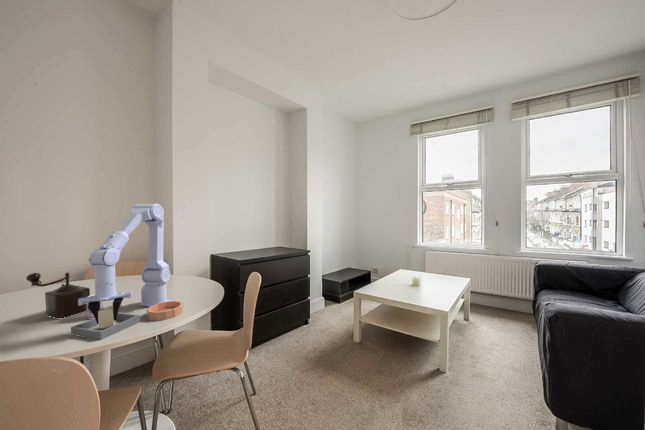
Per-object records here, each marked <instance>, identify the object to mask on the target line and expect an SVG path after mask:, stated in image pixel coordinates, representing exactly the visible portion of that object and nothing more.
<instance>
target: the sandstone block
mask: <svg viewBox="0 0 645 430" xmlns="http://www.w3.org/2000/svg"><path fill="white" fill-rule="evenodd" d="M98 321H99V325H98V329H99V330H101V329H106V328H109V327H111V326H114V325H116V322H117V320H115V321H114V310H113V305H109V306H103V307H102V308H100V309H99V311H98Z"/></svg>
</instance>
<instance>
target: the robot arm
mask: <svg viewBox="0 0 645 430" xmlns="http://www.w3.org/2000/svg"><path fill="white" fill-rule="evenodd" d="M129 211H130V214H129V216H128V217H127V219H126V220H125V221H124V223H123V224H122V226H121V227H120V229H119V230H118V231H114V232H112V233H110V234H109V236H108V237H107V239H106V240H105V241H104V243H102V245H100V247H99V248H97V249H94V251H92V253H91V254H90V255H89V258H88V263H89V264H90V265H91V266H92V270H93V275H94V276H93V277H94V293H95V296H90V297H85V298H80V299H79V300H78V306H79V305H83V304H89V305H88V309H89V310H90V311H91V312H92V313H93V315H94V317H95V319H96V322H97V324H99V321H98V311H99V309H100V302H102V301H103V302H108V301H112V306H113V310H114V321H115V320H116V321H118V320H117V316H118V312H119V310H120V307H121V305H122V302H123V301H124V299H131V298H132V297H133V292H132V291H131V290H130V291H128V290H127V291H117V279H116V276H117V275H116V264H117V263H118V262H119V260H120V255H121V253H122V252H121V251H122V250H123V249H124V248H125V246H126V245H127V244H128V242H129V241H130V236H129V235H130V234H132V233H133V231H135V229H136V228H137V227H138V226H139V225H140V224H141V223H142V222H143V223H145V224H146V225H147V226H148V235H149V236H148V262H147V263H146V264H145V265H144V266H143V270H142V274H141V281H142V282H144V283H145V284H143V286H142V287H141V291H140V296H141V299H140V301H141V303H140V304H139V307H141V306H142V307H148V308H149V307H150V306H153V305H155V304H158V303H162V302H166V301H173V300H172V299H167V298H168V295H167V294H168V293H167V284H168V283H169V281H170V279H171V275H172V274H171V270H170V265H169V264H168V263H166V262H165V261H164V232H165V230H164V229H165V228H164V226H165V225H164V224H165V223H164V221H165V220H164V219H165V216H164V214H165V211H164V208H163V207H162V205H161V204H160V203H143V204H142V203H136V204H135V205H133V206H132V208H131V209H130V210H129Z"/></svg>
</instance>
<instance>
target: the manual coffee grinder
mask: <svg viewBox="0 0 645 430" xmlns="http://www.w3.org/2000/svg"><path fill="white" fill-rule="evenodd" d="M64 275H65V276H64V277H63V278H60V279H58V280H54V281H51V282H46V283H42V281H41V280H40V279H41V277H42V275H41V273H39V272H33V273H29V274H28V275H27V276H26V277H25V279H26V281H28V282H29V283H31V287H34V286H36V287H47V286H50V285H54V284H58V283H61V282H63V281H65V284H64V283H62V284H61V286H60V287H58V288H56V289H55V288H54V290H50V291H46V292H45V294H44V298H45V314H46V315H45V316H47V315H48V316H51V317H55V318H63V319H65V318H64V317H66V318H69V317H72V316H71V315H73V316H76V315H79V314H82V313H85V312H87V306H86V304H83V305H79V306H78V300H79V299H80V298H85V297H88V296H90V295H91V290H90V287H86V286H82V285H76V284H70V277H71V276H70V273H69V272H65V273H64ZM84 311H85V312H84ZM81 312H82V313H81ZM78 313H79V314H78ZM75 314H76V315H75ZM48 316H47V317H48ZM68 316H69V317H68ZM51 317H50V318H51Z"/></svg>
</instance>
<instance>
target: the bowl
mask: <svg viewBox="0 0 645 430" xmlns="http://www.w3.org/2000/svg"><path fill="white" fill-rule="evenodd" d="M183 312H184V303H183V302H182V301H179V300H172V301H166V302H162V303H158V304H155V305H153V306H150V307H148V308H147V309H146V318H147V319H148V320H149V321H163V320H165V321H166V320H169V319H172V318H176V317H178V316H179V315H182V313H183Z"/></svg>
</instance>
